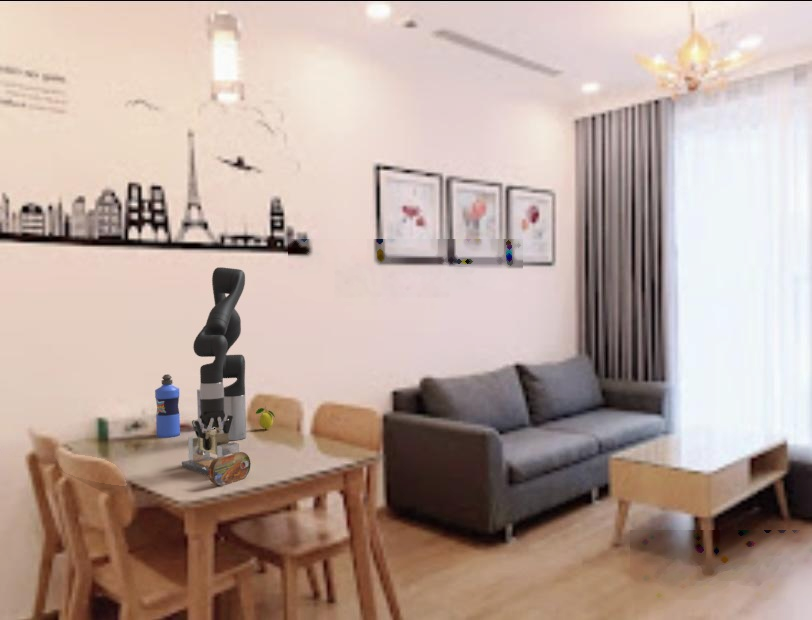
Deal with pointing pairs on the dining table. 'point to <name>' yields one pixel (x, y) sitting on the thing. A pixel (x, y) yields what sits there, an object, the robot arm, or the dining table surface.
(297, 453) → the dining table surface
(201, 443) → the block
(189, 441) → the stand
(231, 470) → the tin
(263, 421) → the lemon
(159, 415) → the water bottle
